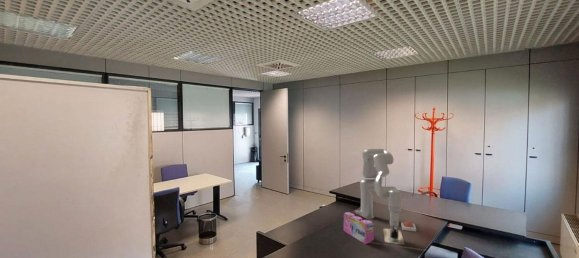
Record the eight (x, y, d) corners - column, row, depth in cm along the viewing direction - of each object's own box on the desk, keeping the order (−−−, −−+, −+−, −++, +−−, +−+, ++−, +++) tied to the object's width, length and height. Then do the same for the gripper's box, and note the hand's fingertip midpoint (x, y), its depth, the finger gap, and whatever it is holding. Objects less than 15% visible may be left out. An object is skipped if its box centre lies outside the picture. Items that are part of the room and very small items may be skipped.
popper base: (402, 231, 185) (402, 227, 185) (401, 226, 194) (401, 222, 194) (416, 232, 183) (416, 228, 183) (414, 227, 191) (414, 223, 191)
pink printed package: (341, 230, 187) (342, 212, 186) (350, 228, 191) (350, 210, 190) (365, 244, 166) (365, 224, 165) (374, 241, 170) (374, 221, 169)
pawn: (390, 238, 167) (390, 224, 167) (389, 235, 172) (390, 222, 172) (398, 239, 166) (398, 225, 165) (397, 236, 170) (398, 222, 170)
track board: (384, 243, 167) (384, 241, 167) (383, 229, 188) (383, 228, 188) (404, 246, 163) (404, 244, 163) (400, 231, 184) (400, 230, 184)
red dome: (405, 229, 187) (405, 222, 186) (404, 226, 192) (404, 219, 191) (412, 230, 185) (413, 223, 185) (411, 227, 190) (411, 220, 190)
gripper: (387, 203, 177) (387, 229, 178) (389, 212, 161) (389, 240, 162) (399, 204, 175) (398, 230, 176) (402, 213, 159) (401, 242, 160)
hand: (394, 235), depth 169 cm, fingers closed on pawn, 4 cm apart
